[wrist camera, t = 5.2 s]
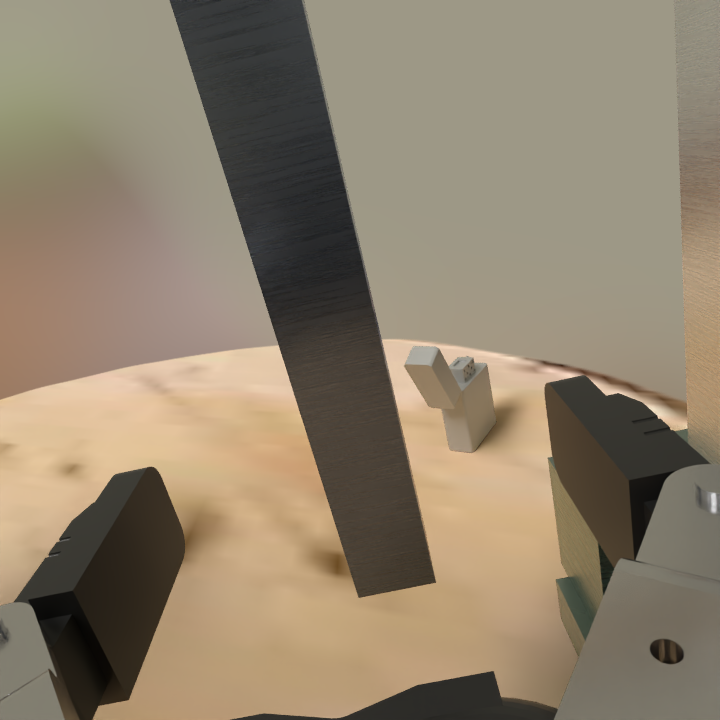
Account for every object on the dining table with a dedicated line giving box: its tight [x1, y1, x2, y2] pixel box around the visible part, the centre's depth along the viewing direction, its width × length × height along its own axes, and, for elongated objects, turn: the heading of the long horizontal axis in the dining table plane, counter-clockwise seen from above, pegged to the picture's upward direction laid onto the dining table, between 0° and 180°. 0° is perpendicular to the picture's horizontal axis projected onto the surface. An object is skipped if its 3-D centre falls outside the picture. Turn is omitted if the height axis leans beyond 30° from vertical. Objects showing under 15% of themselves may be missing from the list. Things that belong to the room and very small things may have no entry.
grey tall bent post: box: [548, 0, 720, 657], centre depth 16 cm, size 16×18×28 cm
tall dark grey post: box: [170, 0, 436, 598], centre depth 13 cm, size 6×2×20 cm, turn 1°
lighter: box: [404, 346, 496, 453], centre depth 36 cm, size 7×2×8 cm, turn 146°
